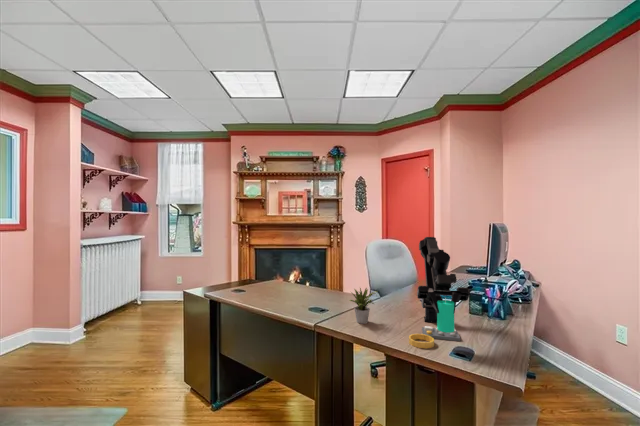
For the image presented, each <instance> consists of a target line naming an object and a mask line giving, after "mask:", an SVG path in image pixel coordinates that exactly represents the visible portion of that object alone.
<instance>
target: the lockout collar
mask: <svg viewBox="0 0 640 426" xmlns="http://www.w3.org/2000/svg"><path fill="white" fill-rule="evenodd" d="M418 340H420V341H418ZM424 341H426V342H424ZM408 344H409V345H411V346H412V347H415V348H418V349H432V348H434V347H435V339H434V338H432V337H431V336H428V335H425V334H423V333H412V334H410V335H408Z"/></svg>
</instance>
